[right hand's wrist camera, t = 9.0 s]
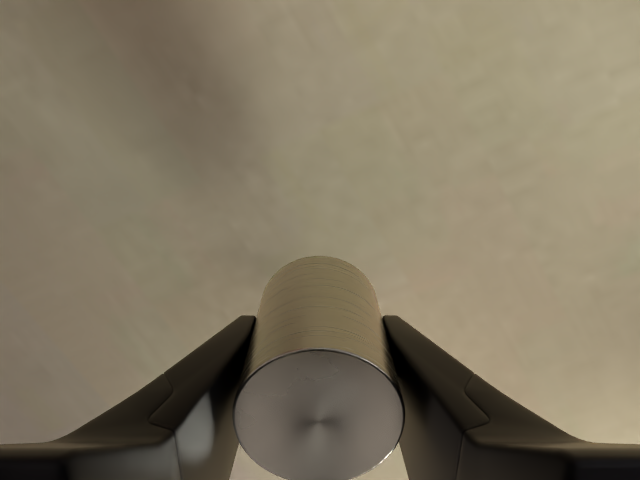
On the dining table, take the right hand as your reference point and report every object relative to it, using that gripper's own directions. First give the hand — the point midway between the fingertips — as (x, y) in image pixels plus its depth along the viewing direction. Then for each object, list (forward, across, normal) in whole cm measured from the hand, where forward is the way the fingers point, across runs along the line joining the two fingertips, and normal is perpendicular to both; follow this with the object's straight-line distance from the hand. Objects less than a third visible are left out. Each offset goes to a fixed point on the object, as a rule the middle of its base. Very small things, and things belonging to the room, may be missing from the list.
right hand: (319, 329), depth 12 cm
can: (+1, 0, 0) cm, 1 cm away
